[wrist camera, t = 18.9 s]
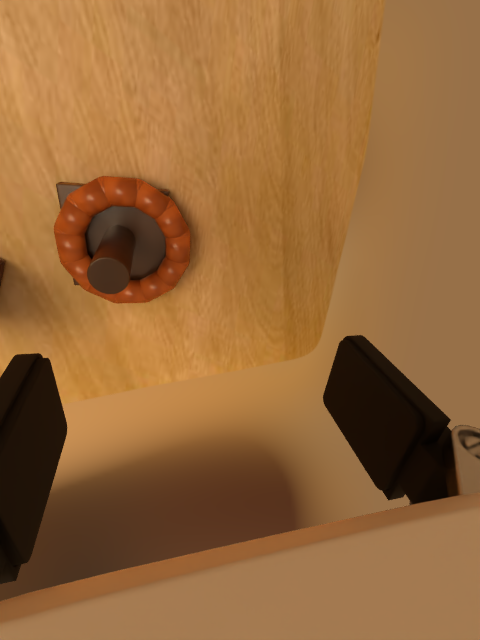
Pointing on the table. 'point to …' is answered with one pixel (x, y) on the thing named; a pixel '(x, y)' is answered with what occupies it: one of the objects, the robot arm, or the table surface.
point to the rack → (119, 244)
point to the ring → (122, 194)
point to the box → (1, 269)
